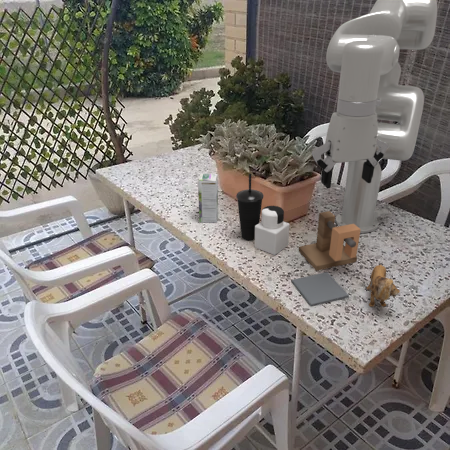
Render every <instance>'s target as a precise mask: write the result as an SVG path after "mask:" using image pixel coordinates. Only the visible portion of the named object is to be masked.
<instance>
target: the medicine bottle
mask: <svg viewBox="0 0 450 450" xmlns="http://www.w3.org/2000/svg"><path fill="white" fill-rule="evenodd" d="M284 217H285V210H284V208H282V207H280V206H278V205H267V206H264V207H263V208H261V221H259V224H257V225H256V226H255V240H254V248H256V249H258V250H261V251H264V252H265V253H267V254H271V255H273V256H276V255H278V253H280V252H281V251H282V250H284V249H285V248H286V247H288V245H289V239H290V225H291V224H290V223H289V222H286V221H284Z"/></svg>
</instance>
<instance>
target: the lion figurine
mask: <svg viewBox="0 0 450 450" xmlns="http://www.w3.org/2000/svg"><path fill="white" fill-rule="evenodd" d="M366 290H367V291H370V301H369V302H368V306H369V307H370V308H374V307H375V304H376V302H375V299H376V300H377V301H378V300H379V305H380V307H382V308H384V307H386V306H387V304H386V303H385V301H387V300H389V299H390V298H391V297H393V298H396V296H398V295H399V294H400V293H401V291H400V290H399V289H398V288H397V286H396V285H395V284H394V279H392V278H388V277H387V268H386V267H385V266H383V265H382V264H378V265H376V266H374V267H373V269H372V271H371V274H370V281H369V284H368V286H366Z"/></svg>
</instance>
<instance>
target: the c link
mask: <svg viewBox="0 0 450 450" xmlns="http://www.w3.org/2000/svg"><path fill="white" fill-rule="evenodd" d="M360 231H361V229H360V228H358V227H357V226H356V225H355V224H349V225H344V226H337V227H334V228H332V236H331V244H330V252H329V255H330V256H331V257H332V258H333V259H334V260H335V261H339V260H341V257H342V250H343V245H344V246H345V250H344V252H345V253H346V254H347V255H348V256H349V257H350V258H353V257H357V254H358V248H359V241H360V237H361V236H360V235H361V233H360ZM346 238H351V239H352V240H354V241H355V242H356V246H355V247H353V248H352V247H350V246H349V245H348V244H347V243H346V242H345V241H344V239H346ZM344 243H345V244H344Z"/></svg>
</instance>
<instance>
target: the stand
mask: <svg viewBox="0 0 450 450" xmlns="http://www.w3.org/2000/svg"><path fill="white" fill-rule="evenodd" d="M335 223H336V215H335V214H334V213H332V212H331V211H330V210H328V211H323V212H319V214H318V223H317V232H316V242H314V243H310V244H305V245H301V246H298V253H300V255H301V256H302V257H303V258H304V259H305V260H306V261H307V263H309V265H310V266H311V267H312V268H313V269H314V270H315V271H316V272H318V271H323V270H326V269H331V268H336V267H339V266H344V265H349V264H353V263H357V260H358V259H357V258H358V256H356V257H353V258H350V257H349V256H348V255H347V254H346V253H345V252H344V250H345V244H343V250H342V257H341V260H339V261H335V260H334V259H333V258H332V257H331V256H330V255H329V252H330V244H331V236H332V228H334V227H338V225H337V224H335ZM344 243H347V244H348V245H349V246H350V247H352V248H353V247H355V246H356V242H355V241H354V240H352V239H351V238H346V239H344Z"/></svg>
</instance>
